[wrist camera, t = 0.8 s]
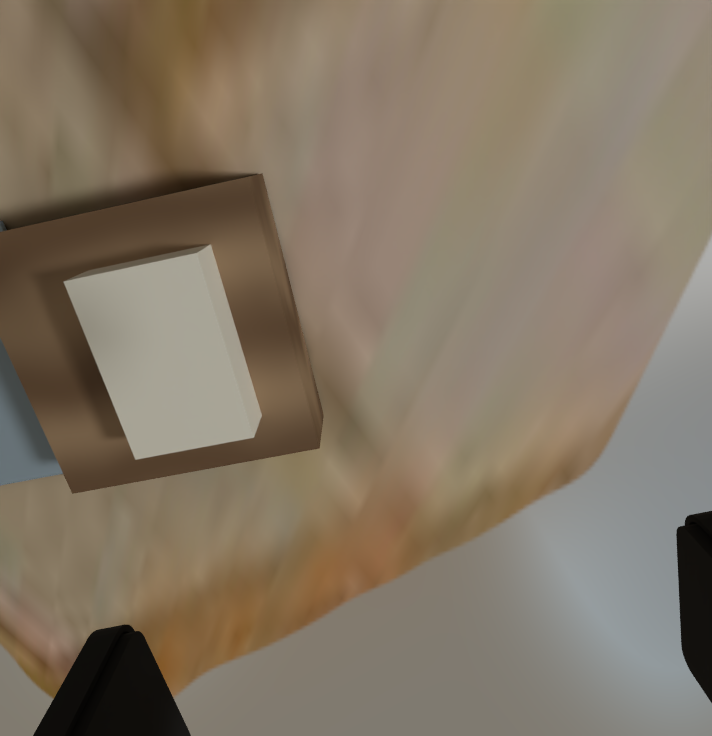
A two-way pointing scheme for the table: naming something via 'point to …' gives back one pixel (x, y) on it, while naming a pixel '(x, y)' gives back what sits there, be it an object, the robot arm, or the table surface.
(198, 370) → the white rectangular block
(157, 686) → the robot arm
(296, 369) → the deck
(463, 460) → the table surface
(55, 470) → the mat
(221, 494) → the table surface
